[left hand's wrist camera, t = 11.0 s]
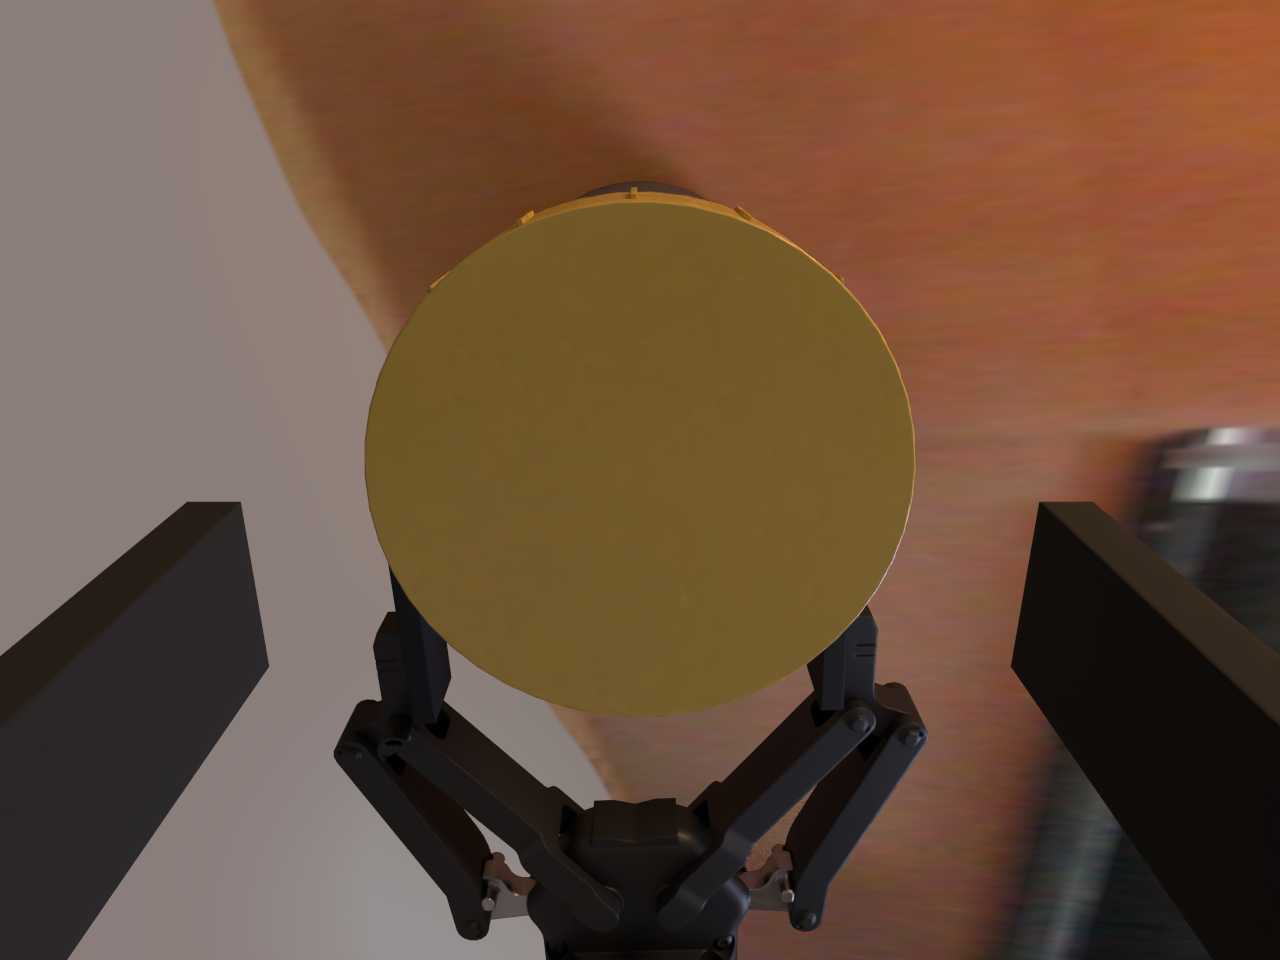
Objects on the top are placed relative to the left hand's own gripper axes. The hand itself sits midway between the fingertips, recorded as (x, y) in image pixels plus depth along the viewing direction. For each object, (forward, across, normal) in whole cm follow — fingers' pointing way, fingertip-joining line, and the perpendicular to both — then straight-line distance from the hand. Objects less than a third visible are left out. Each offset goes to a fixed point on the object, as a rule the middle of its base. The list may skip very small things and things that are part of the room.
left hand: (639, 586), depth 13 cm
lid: (+4, 0, 0) cm, 4 cm away
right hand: (+15, +1, +6) cm, 16 cm away
